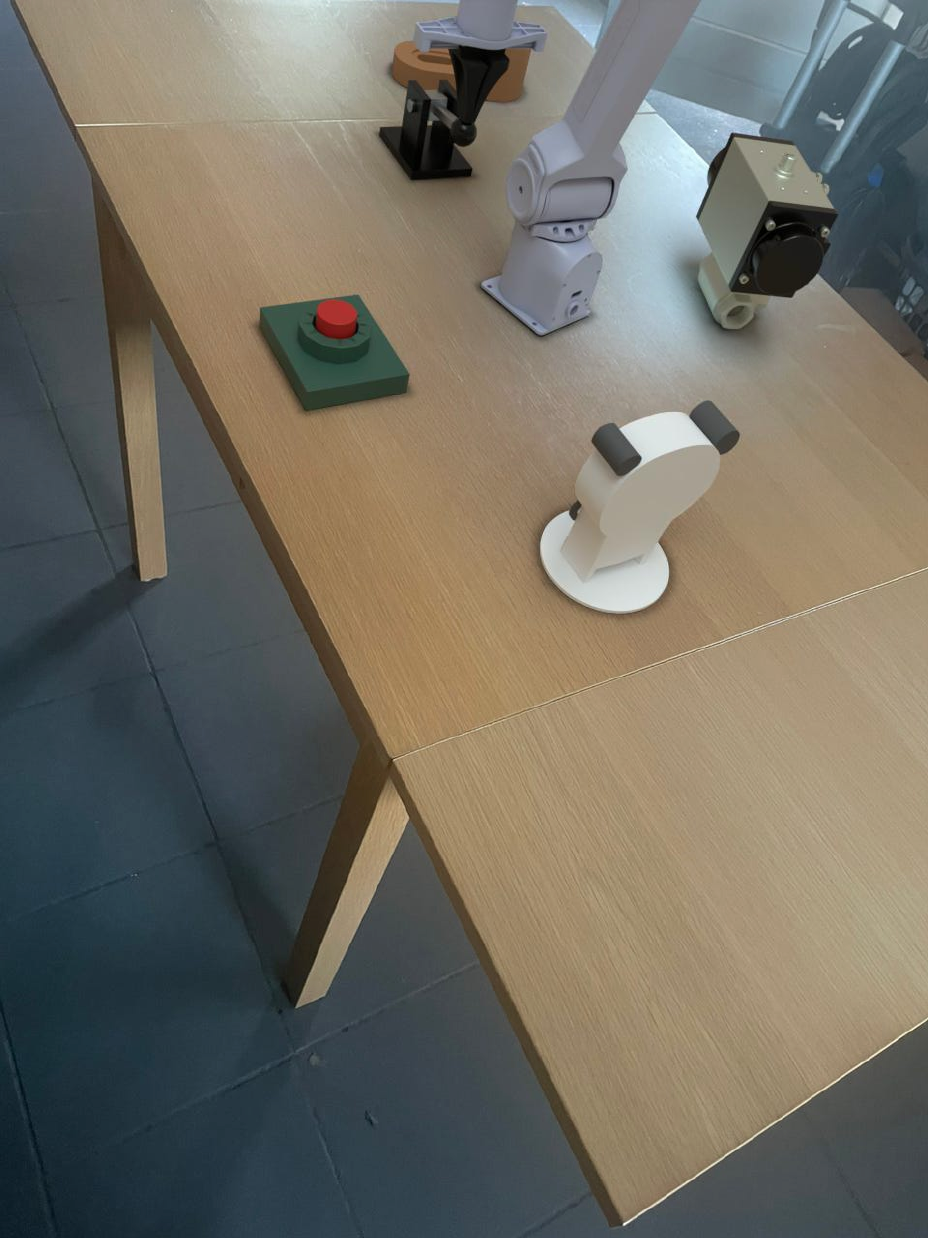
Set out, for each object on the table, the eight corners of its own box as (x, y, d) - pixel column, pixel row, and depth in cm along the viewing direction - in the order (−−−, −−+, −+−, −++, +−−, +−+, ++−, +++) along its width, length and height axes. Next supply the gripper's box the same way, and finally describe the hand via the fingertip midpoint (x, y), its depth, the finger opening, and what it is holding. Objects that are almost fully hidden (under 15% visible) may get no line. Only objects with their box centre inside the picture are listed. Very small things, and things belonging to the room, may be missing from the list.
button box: (406, 392, 86) (412, 358, 83) (305, 410, 82) (308, 375, 79) (356, 312, 91) (360, 277, 88) (259, 326, 87) (260, 290, 84)
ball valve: (781, 362, 101) (868, 212, 87) (710, 356, 99) (788, 201, 85) (733, 264, 111) (805, 115, 97) (668, 257, 109) (732, 104, 95)
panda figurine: (626, 496, 84) (690, 364, 72) (698, 589, 79) (780, 464, 67) (515, 527, 79) (564, 391, 67) (584, 629, 74) (651, 502, 62)
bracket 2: (471, 176, 111) (484, 110, 105) (411, 180, 108) (421, 112, 102) (437, 132, 116) (448, 67, 110) (378, 134, 113) (386, 67, 106)
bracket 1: (513, 74, 130) (525, 20, 124) (526, 104, 125) (539, 50, 120) (387, 59, 125) (394, 2, 119) (396, 89, 120) (404, 32, 115)
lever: (479, 150, 103) (483, 121, 101) (455, 151, 102) (459, 122, 100) (437, 113, 110) (440, 86, 107) (415, 114, 108) (417, 86, 106)
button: (361, 337, 84) (363, 321, 82) (324, 343, 82) (325, 326, 81) (346, 312, 85) (347, 296, 84) (309, 318, 84) (310, 301, 83)
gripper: (536, -37, 95) (506, 97, 106) (409, -43, 90) (391, 100, 100) (569, -6, 92) (534, 130, 103) (439, -9, 86) (417, 135, 97)
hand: (465, 118), depth 101 cm, fingers closed, pressing on lever
